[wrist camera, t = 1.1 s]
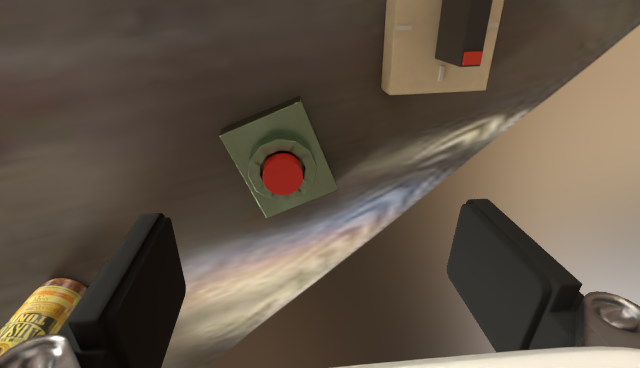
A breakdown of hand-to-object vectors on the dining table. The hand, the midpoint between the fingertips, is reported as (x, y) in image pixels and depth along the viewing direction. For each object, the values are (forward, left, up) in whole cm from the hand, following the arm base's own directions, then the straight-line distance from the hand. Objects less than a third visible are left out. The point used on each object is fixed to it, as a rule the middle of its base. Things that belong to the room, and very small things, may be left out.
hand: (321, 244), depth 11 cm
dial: (-5, +15, -24) cm, 28 cm away
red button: (+8, -1, -23) cm, 24 cm away
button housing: (+8, -1, -27) cm, 28 cm away
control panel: (-5, +15, -27) cm, 31 cm away
